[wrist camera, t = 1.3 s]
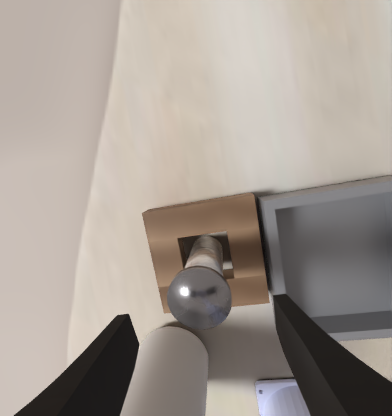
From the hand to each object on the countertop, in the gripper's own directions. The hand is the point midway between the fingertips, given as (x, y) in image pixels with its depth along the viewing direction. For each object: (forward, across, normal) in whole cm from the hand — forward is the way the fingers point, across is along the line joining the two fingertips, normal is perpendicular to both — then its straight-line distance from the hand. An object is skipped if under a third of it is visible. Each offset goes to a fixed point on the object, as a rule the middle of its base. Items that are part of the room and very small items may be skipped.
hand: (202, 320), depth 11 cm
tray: (+10, -11, +4) cm, 16 cm away
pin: (+11, 0, +2) cm, 11 cm away
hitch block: (+11, 0, +2) cm, 11 cm away
